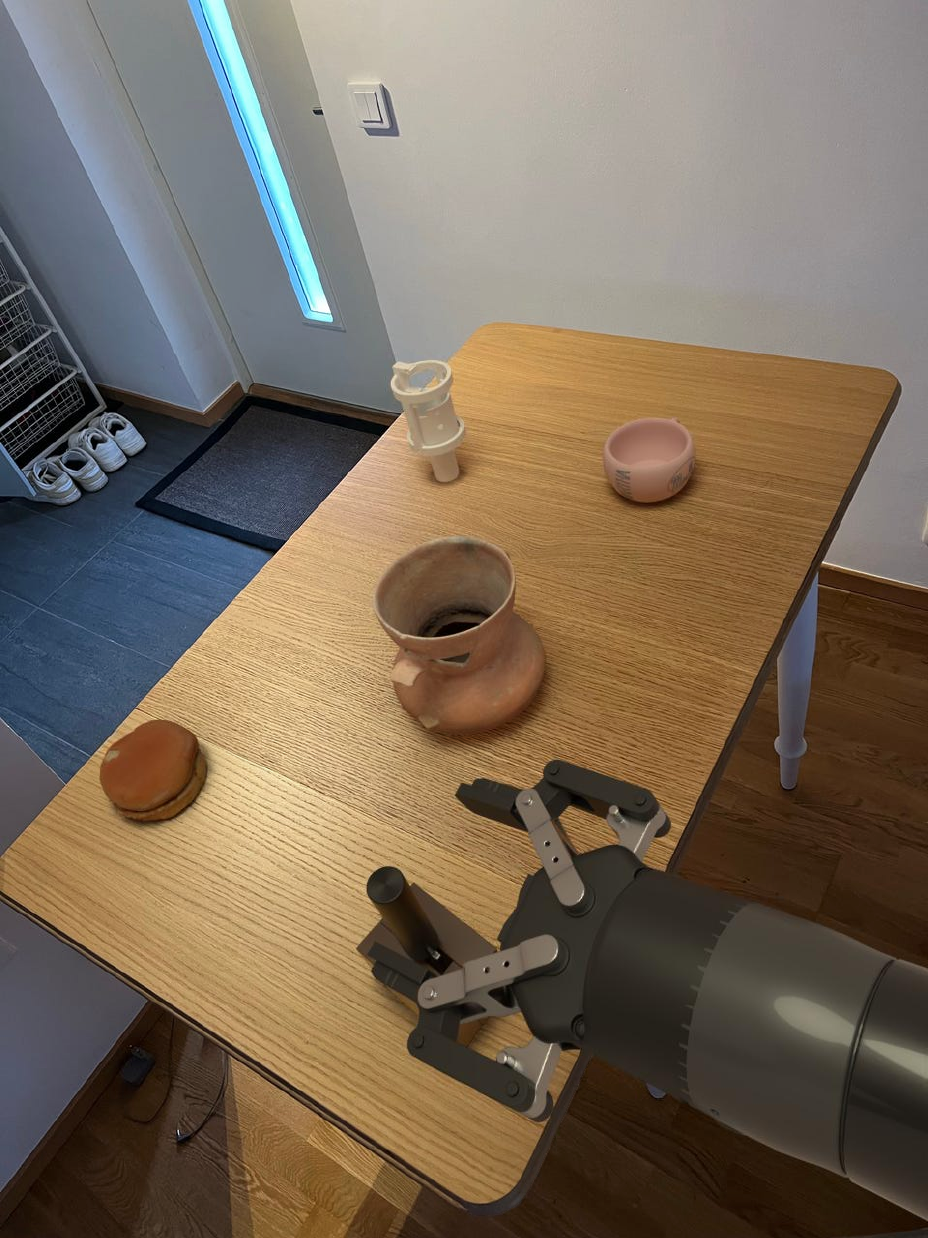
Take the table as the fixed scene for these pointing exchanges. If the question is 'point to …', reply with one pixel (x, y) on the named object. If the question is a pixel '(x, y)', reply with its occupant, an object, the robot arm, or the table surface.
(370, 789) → the table surface
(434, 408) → the strainer
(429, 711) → the ceramic jug
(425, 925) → the black tall cylinder
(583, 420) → the table surface
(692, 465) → the mug
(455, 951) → the knife block
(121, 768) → the burger
